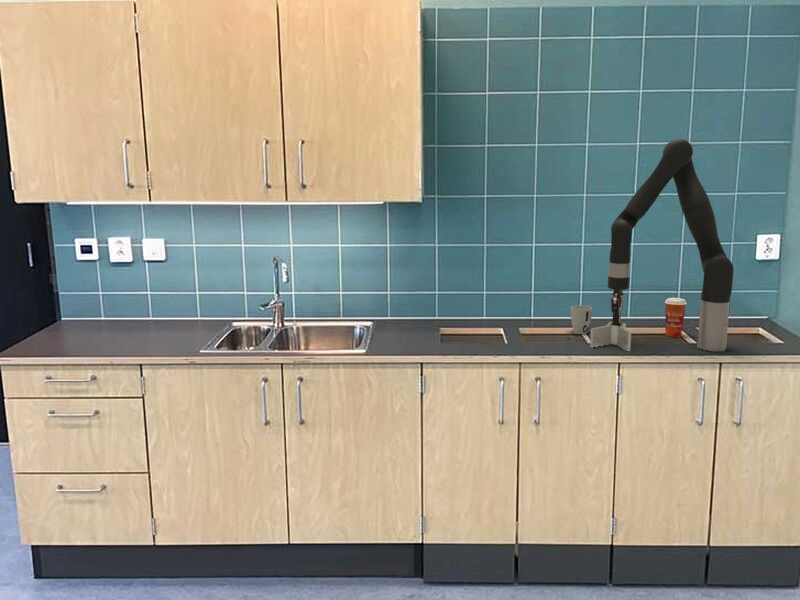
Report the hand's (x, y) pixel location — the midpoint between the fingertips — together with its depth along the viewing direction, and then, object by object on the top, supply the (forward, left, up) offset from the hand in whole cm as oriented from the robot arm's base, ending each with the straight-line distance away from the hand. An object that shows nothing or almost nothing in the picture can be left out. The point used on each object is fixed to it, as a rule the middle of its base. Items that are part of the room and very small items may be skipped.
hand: (616, 322), depth 261 cm
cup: (+15, -11, -8) cm, 20 cm away
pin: (0, 0, -4) cm, 4 cm away
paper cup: (-18, -21, -8) cm, 29 cm away
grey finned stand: (0, +4, -8) cm, 9 cm away
